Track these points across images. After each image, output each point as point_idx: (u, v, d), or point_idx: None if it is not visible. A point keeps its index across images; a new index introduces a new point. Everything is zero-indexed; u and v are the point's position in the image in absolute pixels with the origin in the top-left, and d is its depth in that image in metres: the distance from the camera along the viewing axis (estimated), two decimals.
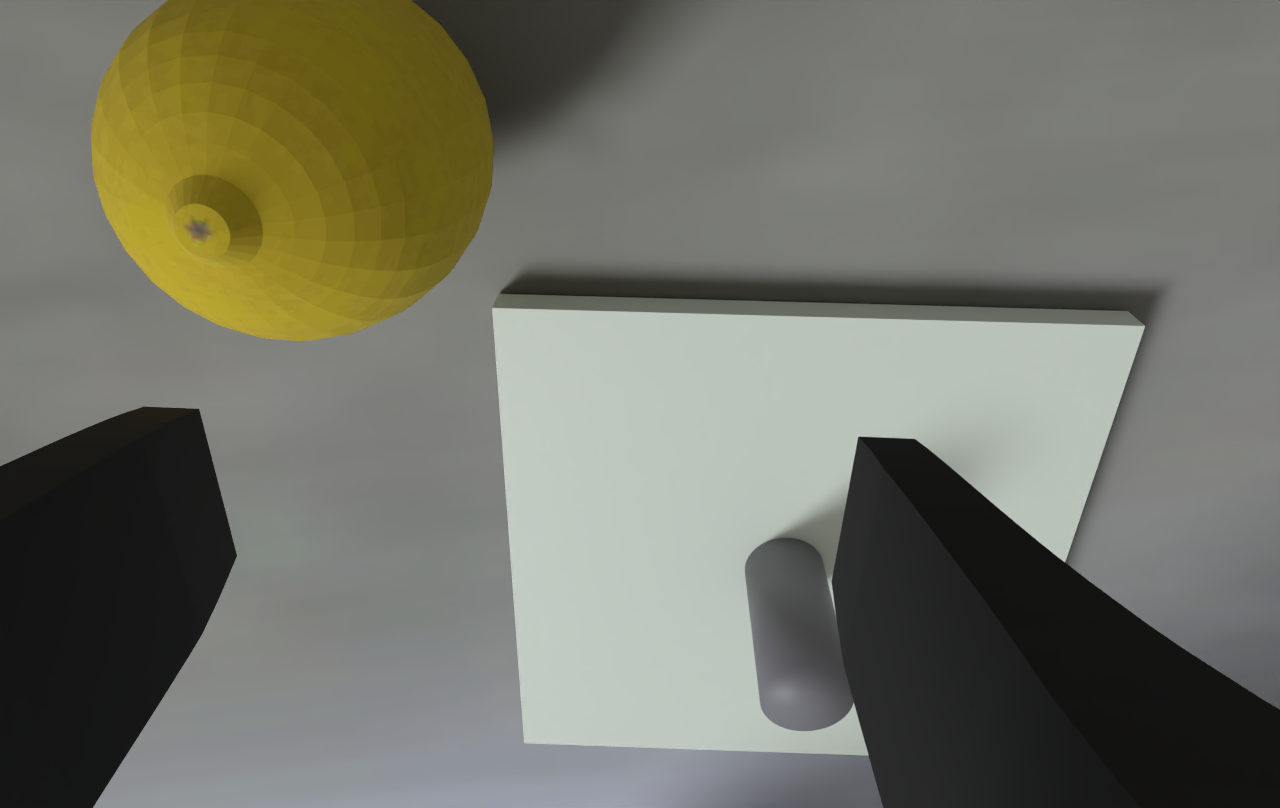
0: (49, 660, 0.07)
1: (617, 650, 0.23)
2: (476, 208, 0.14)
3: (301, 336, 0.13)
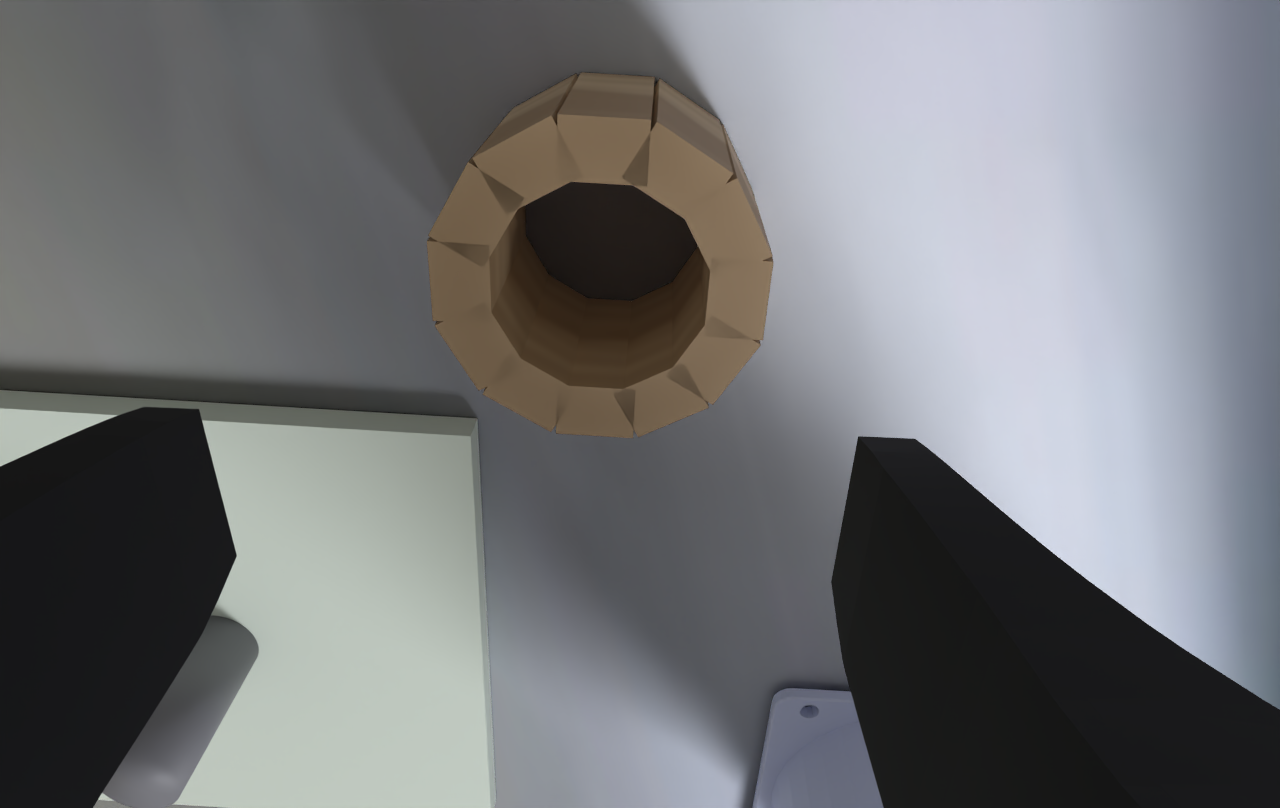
0: (49, 660, 0.07)
1: (354, 755, 0.25)
2: None
3: None
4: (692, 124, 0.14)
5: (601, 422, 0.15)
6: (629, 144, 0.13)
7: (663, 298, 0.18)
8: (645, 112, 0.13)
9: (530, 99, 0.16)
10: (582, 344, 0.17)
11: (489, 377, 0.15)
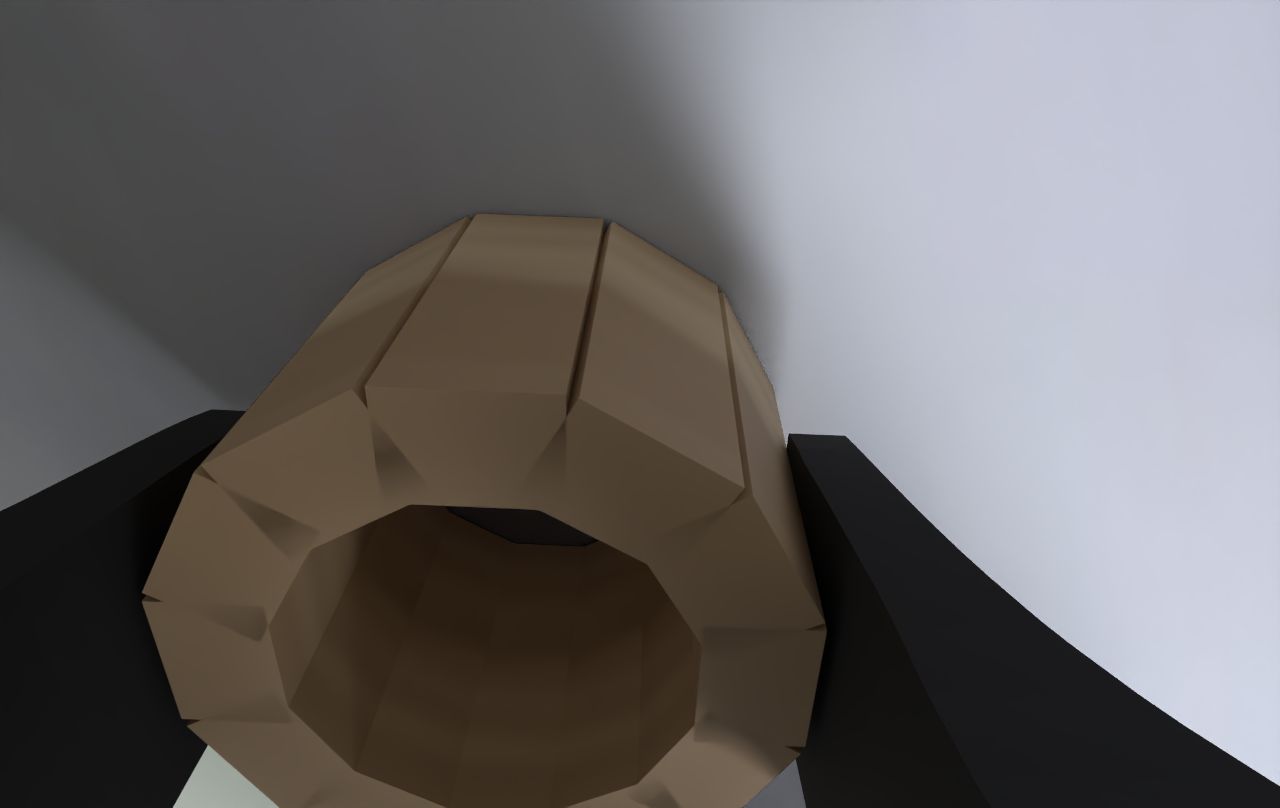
0: (134, 664, 0.07)
1: None
2: None
3: None
4: (664, 342, 0.08)
5: None
6: (524, 439, 0.06)
7: (630, 559, 0.11)
8: (560, 361, 0.06)
9: (391, 261, 0.09)
10: (490, 668, 0.10)
11: (303, 797, 0.08)
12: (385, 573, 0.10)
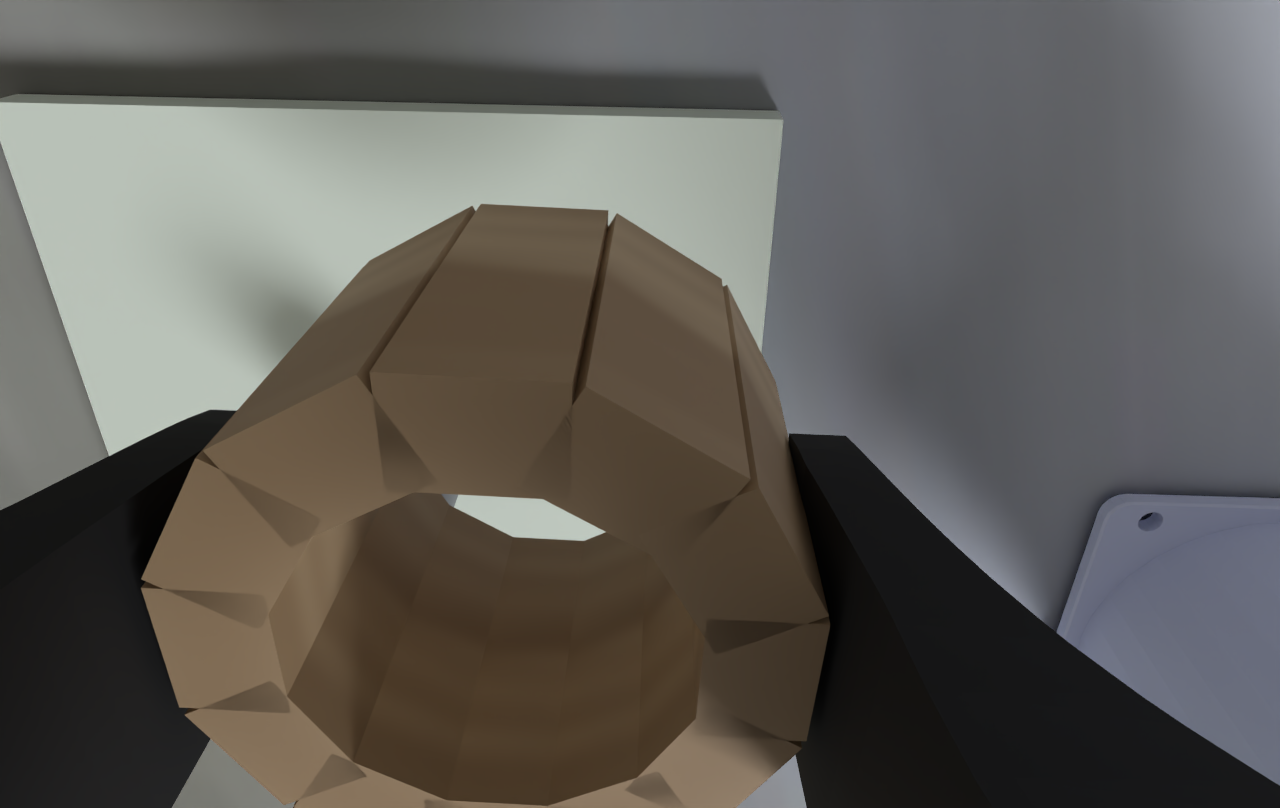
0: (133, 664, 0.07)
1: None
2: None
3: None
4: (669, 334, 0.08)
5: None
6: (529, 427, 0.06)
7: (631, 554, 0.11)
8: (566, 349, 0.06)
9: (394, 250, 0.09)
10: (490, 661, 0.10)
11: (299, 787, 0.08)
12: (384, 564, 0.10)
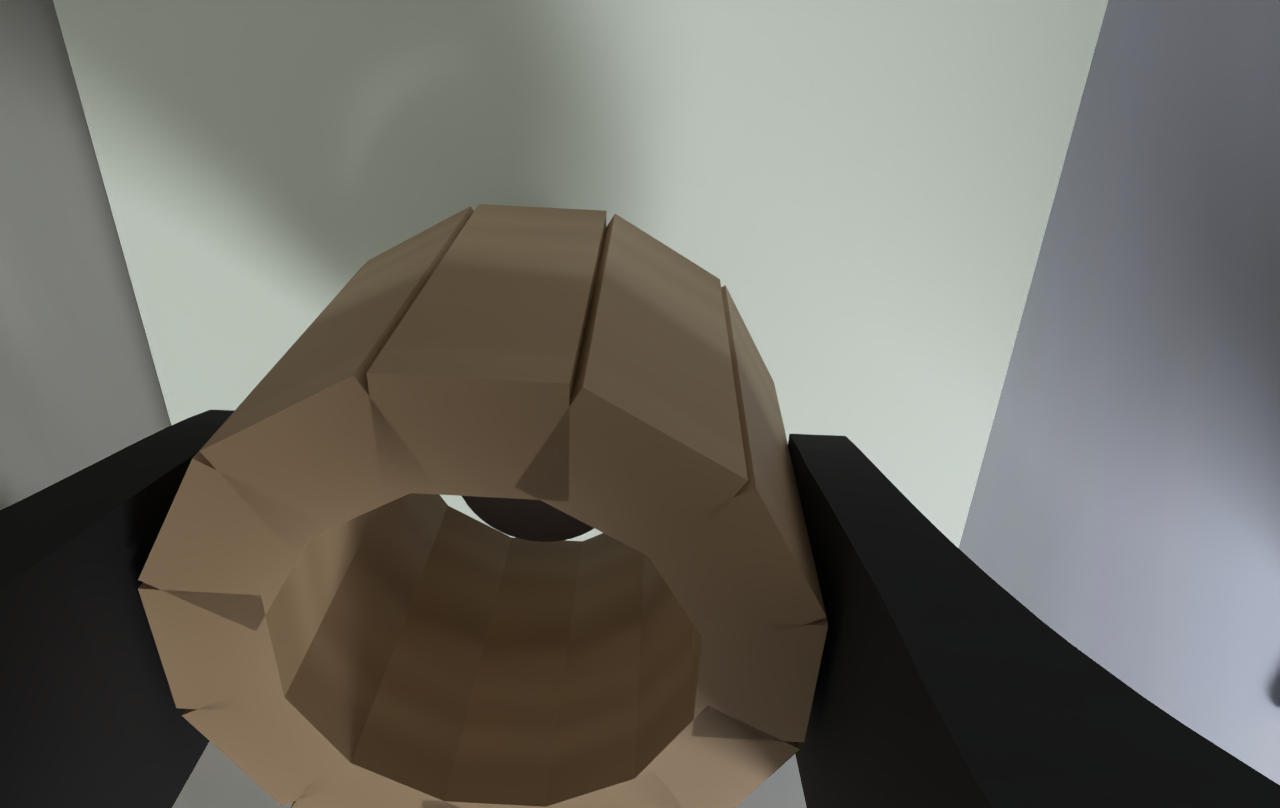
0: (133, 664, 0.07)
1: None
2: None
3: None
4: (667, 334, 0.08)
5: None
6: (526, 428, 0.06)
7: (628, 554, 0.11)
8: (563, 350, 0.06)
9: (392, 251, 0.09)
10: (488, 661, 0.10)
11: (297, 788, 0.08)
12: (382, 565, 0.10)
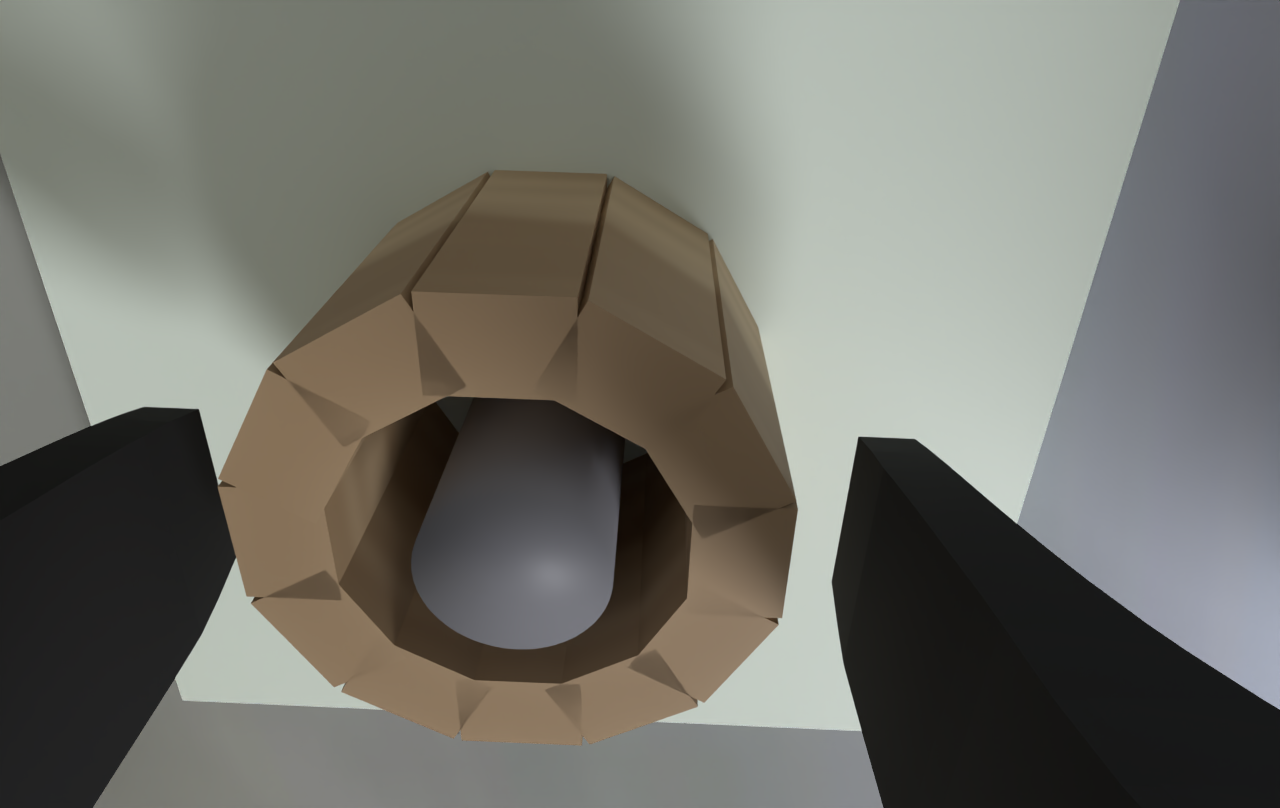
0: (49, 660, 0.07)
1: None
2: None
3: None
4: (659, 270, 0.09)
5: (530, 725, 0.10)
6: (542, 337, 0.07)
7: (632, 485, 0.12)
8: (571, 274, 0.08)
9: (419, 212, 0.11)
10: None
11: (348, 670, 0.09)
12: (415, 489, 0.11)
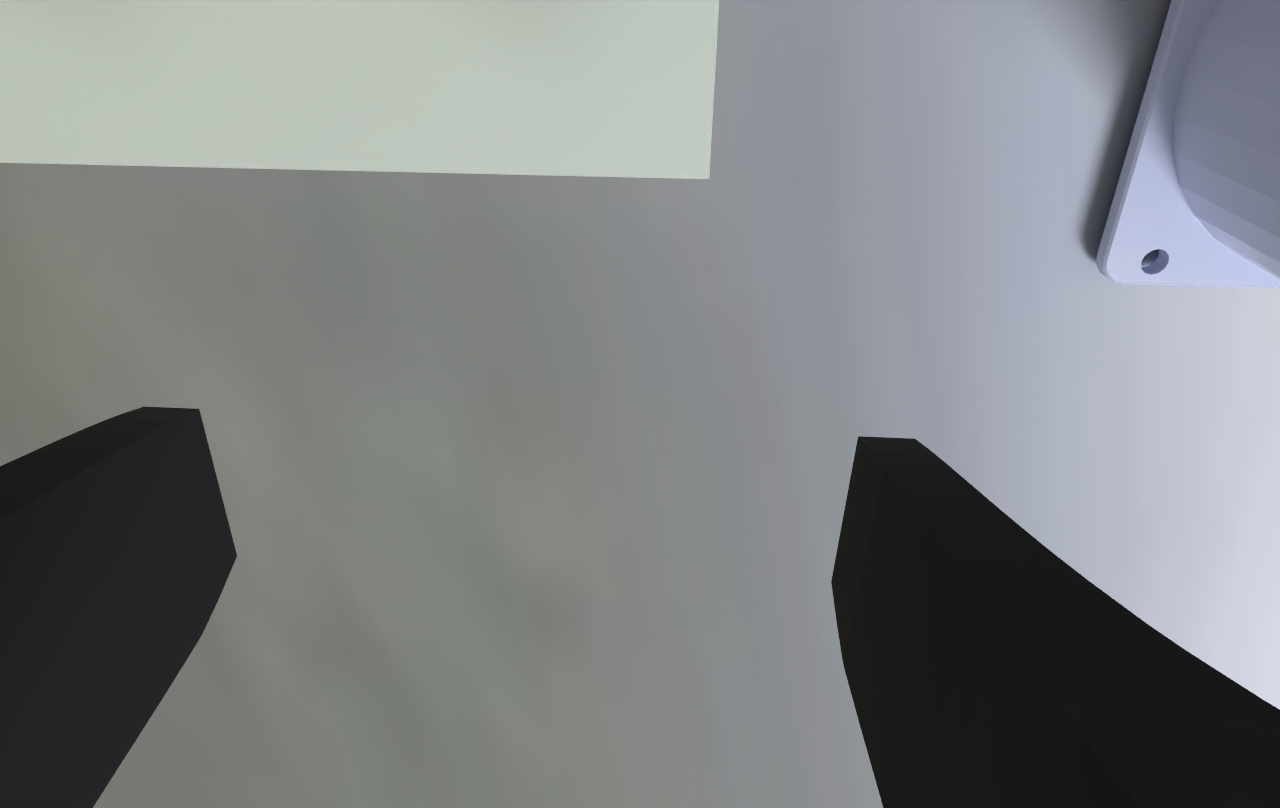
0: (49, 660, 0.07)
1: (494, 16, 0.15)
2: None
3: None
4: None
5: None
6: None
7: None
8: None
9: None
10: None
11: None
12: None
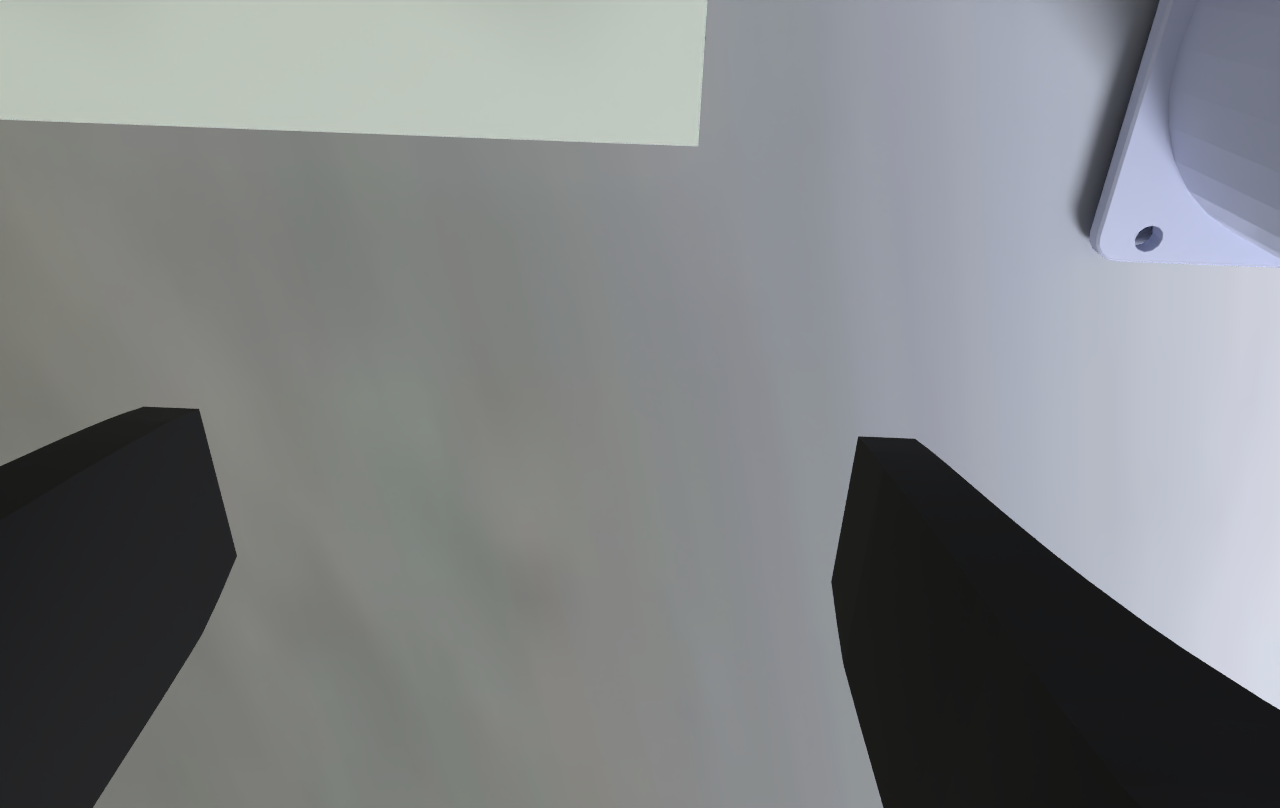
0: (49, 660, 0.07)
1: None
2: None
3: None
4: None
5: None
6: None
7: None
8: None
9: None
10: None
11: None
12: None
